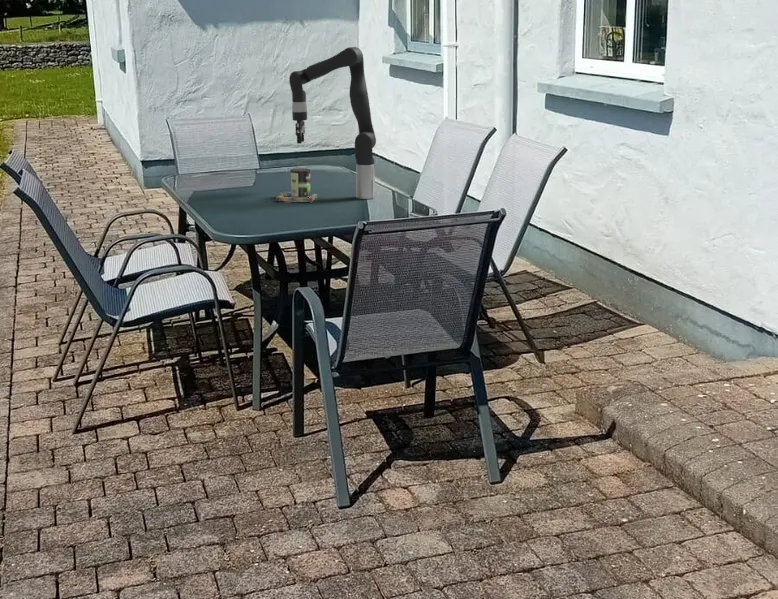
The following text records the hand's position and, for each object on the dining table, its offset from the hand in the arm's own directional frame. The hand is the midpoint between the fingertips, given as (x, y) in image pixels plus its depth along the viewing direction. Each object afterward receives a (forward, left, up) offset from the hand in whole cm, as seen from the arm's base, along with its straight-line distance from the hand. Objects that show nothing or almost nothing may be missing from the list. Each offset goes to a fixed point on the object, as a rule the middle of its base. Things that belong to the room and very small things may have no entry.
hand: (300, 142), depth 508 cm
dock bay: (-2, +21, -26) cm, 34 cm away
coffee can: (-2, +12, -27) cm, 29 cm away
